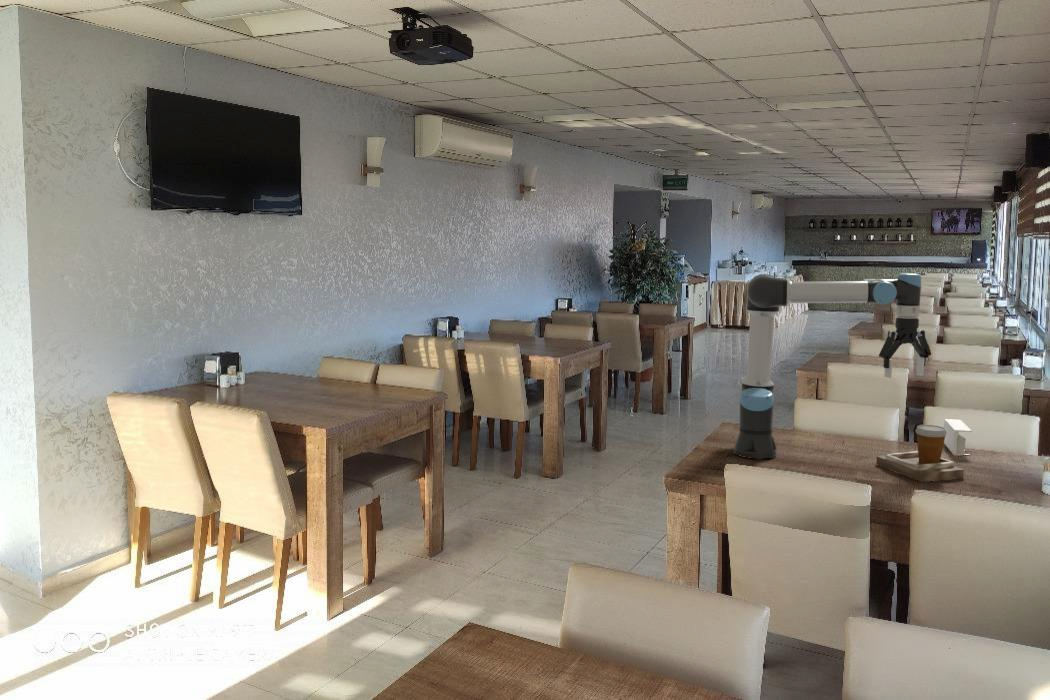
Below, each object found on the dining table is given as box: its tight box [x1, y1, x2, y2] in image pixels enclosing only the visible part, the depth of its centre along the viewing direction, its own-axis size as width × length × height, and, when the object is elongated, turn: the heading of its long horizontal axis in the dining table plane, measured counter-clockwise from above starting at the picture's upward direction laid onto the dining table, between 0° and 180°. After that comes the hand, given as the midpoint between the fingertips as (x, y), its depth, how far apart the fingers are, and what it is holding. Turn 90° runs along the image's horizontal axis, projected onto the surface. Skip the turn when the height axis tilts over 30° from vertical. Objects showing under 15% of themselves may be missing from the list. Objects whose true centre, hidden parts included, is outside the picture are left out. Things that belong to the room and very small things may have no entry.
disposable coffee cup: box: [915, 424, 947, 464], centre depth 276 cm, size 10×10×12 cm
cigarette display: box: [943, 418, 973, 455], centre depth 306 cm, size 20×6×9 cm, turn 163°
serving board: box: [875, 450, 965, 483], centre depth 277 cm, size 16×22×4 cm
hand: (903, 376), depth 295 cm, fingers open, 13 cm apart
